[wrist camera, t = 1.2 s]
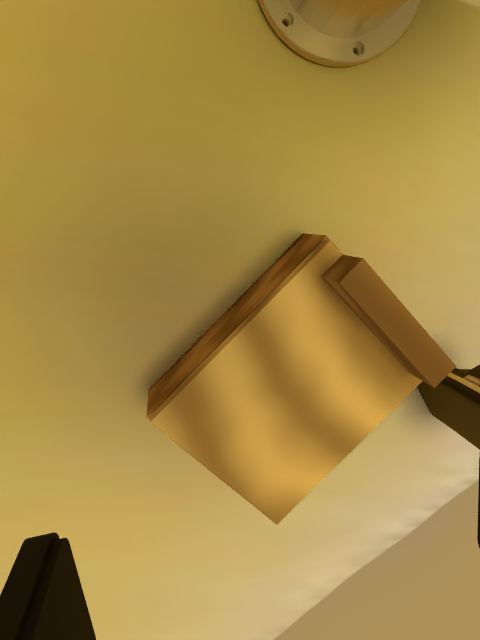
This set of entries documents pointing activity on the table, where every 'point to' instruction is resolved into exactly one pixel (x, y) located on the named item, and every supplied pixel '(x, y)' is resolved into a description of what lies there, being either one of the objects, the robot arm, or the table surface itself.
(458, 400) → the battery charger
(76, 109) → the table surface
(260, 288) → the brown shallow rectangular box
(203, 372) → the lid
